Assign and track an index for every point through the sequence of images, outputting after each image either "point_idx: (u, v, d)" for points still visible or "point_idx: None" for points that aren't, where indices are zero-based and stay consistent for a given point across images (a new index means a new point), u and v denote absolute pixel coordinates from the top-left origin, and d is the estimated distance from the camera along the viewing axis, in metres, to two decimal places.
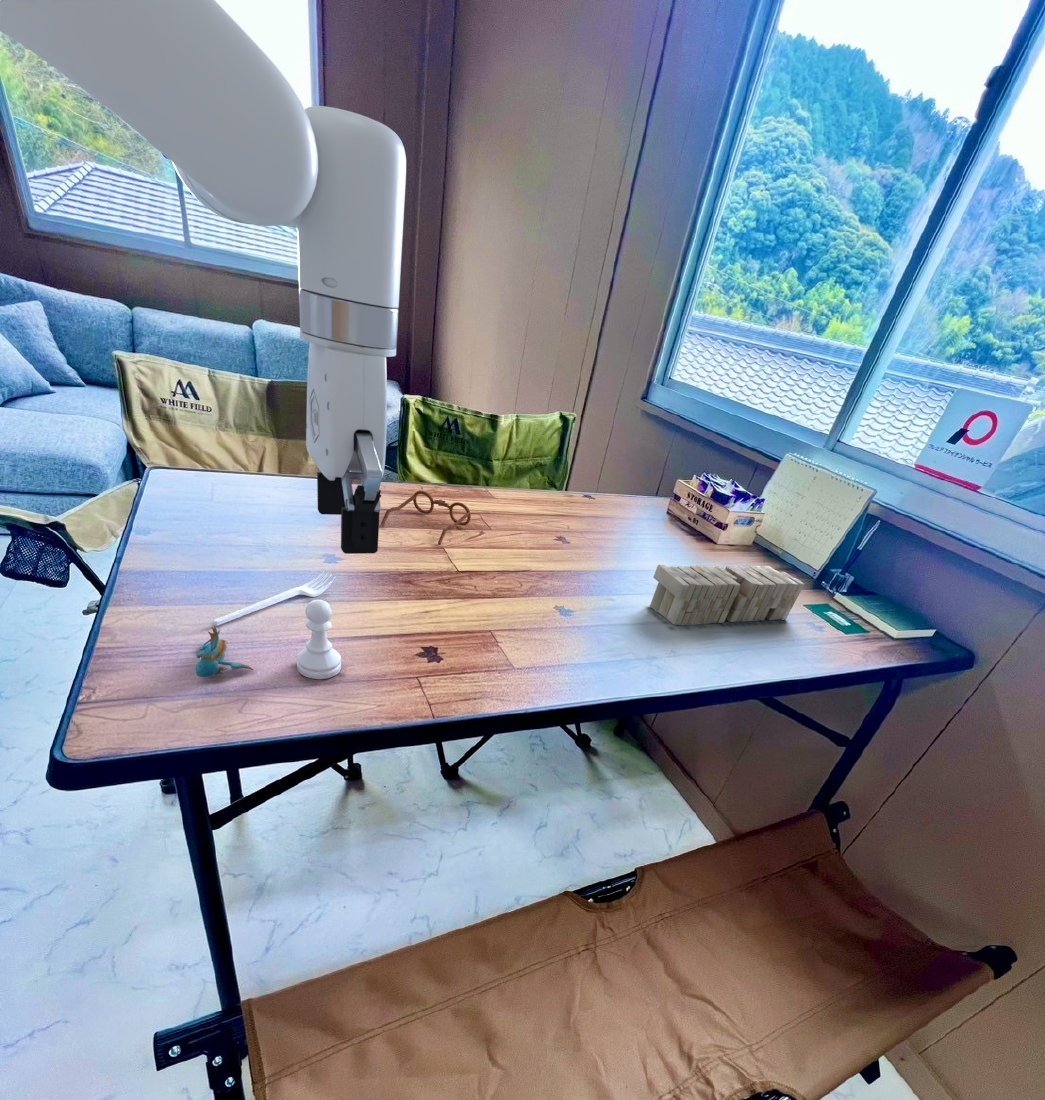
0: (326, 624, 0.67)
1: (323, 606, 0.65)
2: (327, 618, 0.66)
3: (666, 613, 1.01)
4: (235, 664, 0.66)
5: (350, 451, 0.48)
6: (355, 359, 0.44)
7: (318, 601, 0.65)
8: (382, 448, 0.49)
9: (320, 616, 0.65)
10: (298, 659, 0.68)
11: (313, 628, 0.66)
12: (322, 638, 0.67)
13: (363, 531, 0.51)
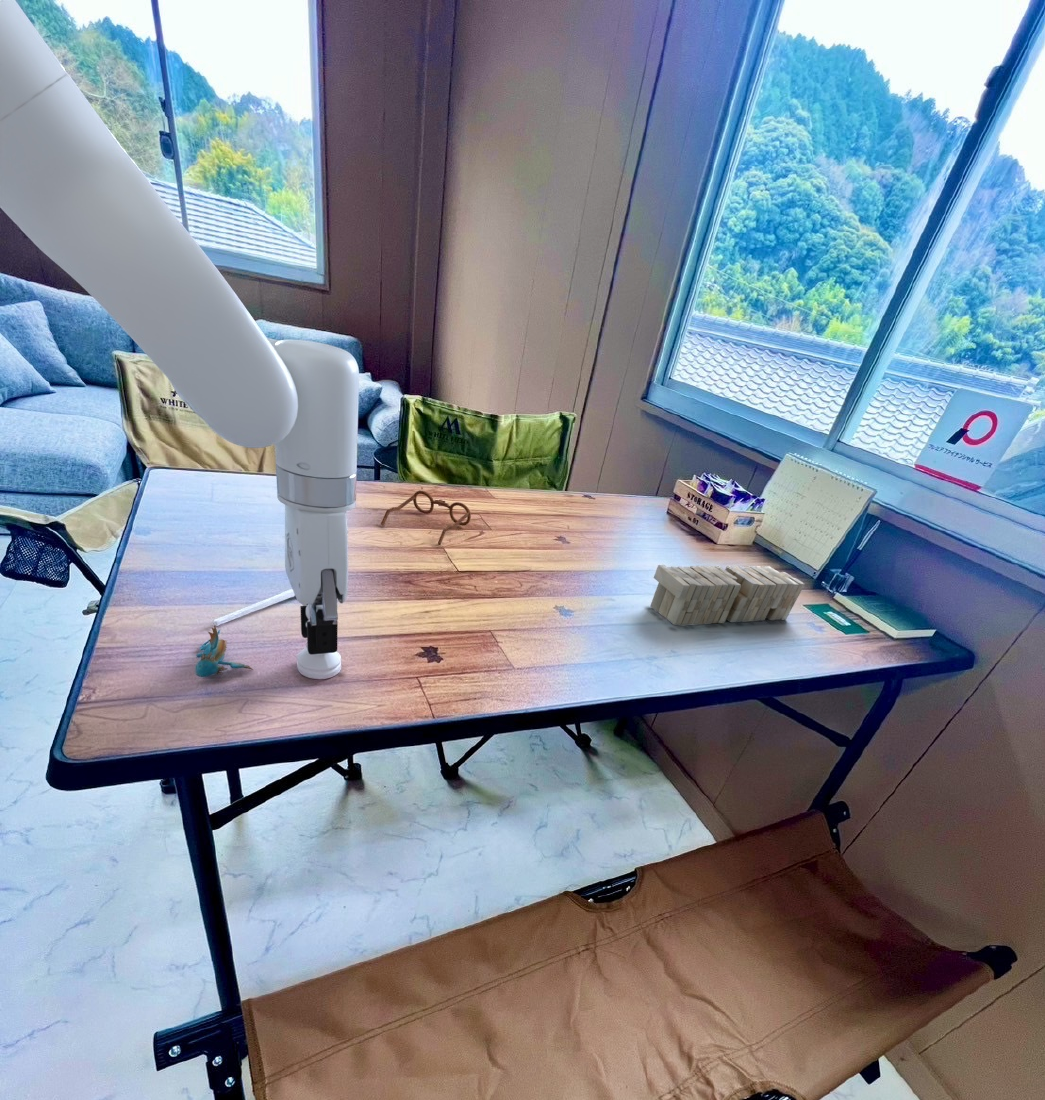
0: None
1: None
2: None
3: (666, 613, 1.01)
4: (235, 664, 0.66)
5: (318, 585, 0.59)
6: (320, 519, 0.56)
7: None
8: (345, 580, 0.60)
9: None
10: (298, 659, 0.68)
11: None
12: None
13: (324, 638, 0.65)
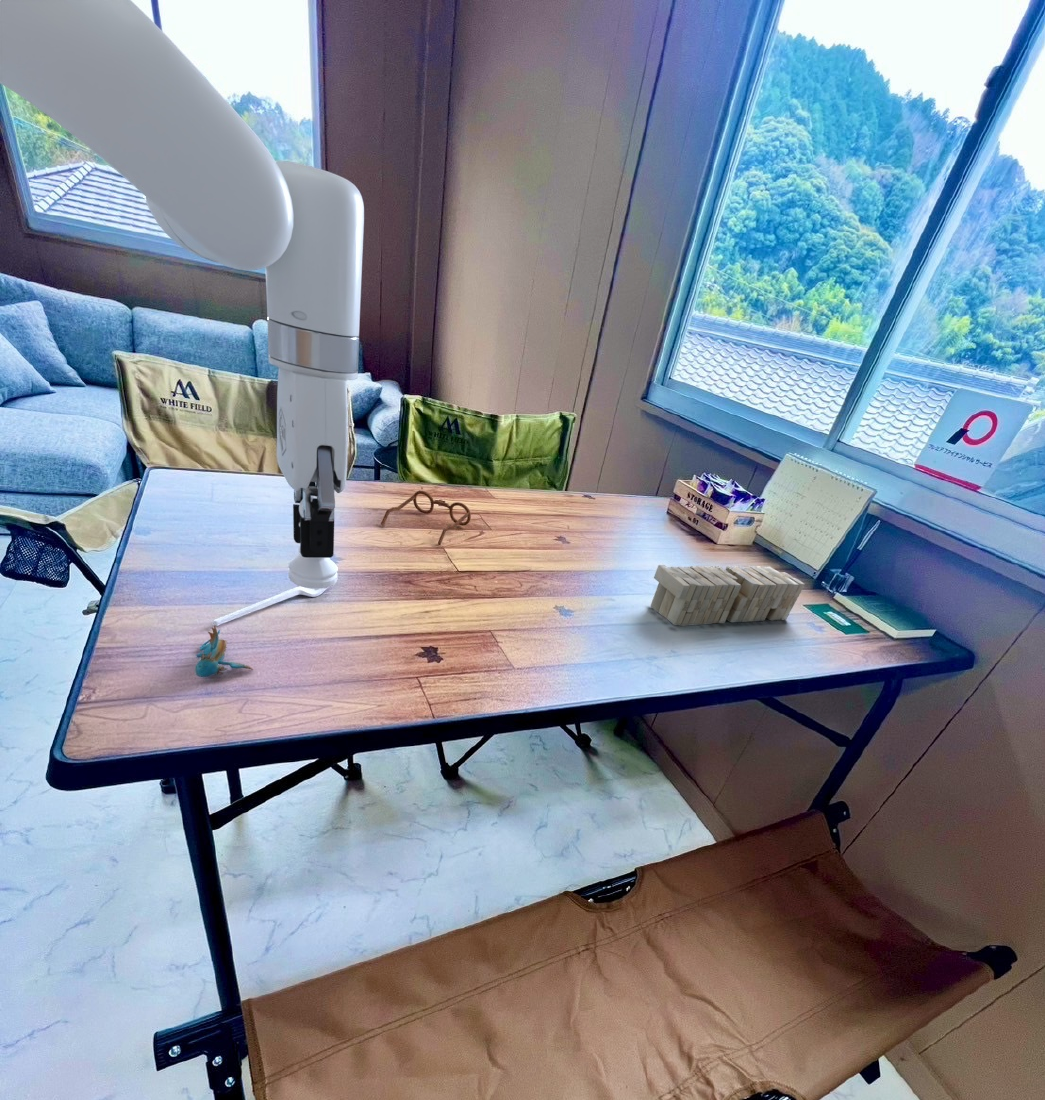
0: None
1: None
2: None
3: (666, 613, 1.01)
4: (235, 664, 0.66)
5: (314, 464, 0.52)
6: (317, 382, 0.49)
7: (313, 496, 0.59)
8: (343, 462, 0.53)
9: None
10: (290, 565, 0.61)
11: None
12: None
13: (319, 538, 0.58)
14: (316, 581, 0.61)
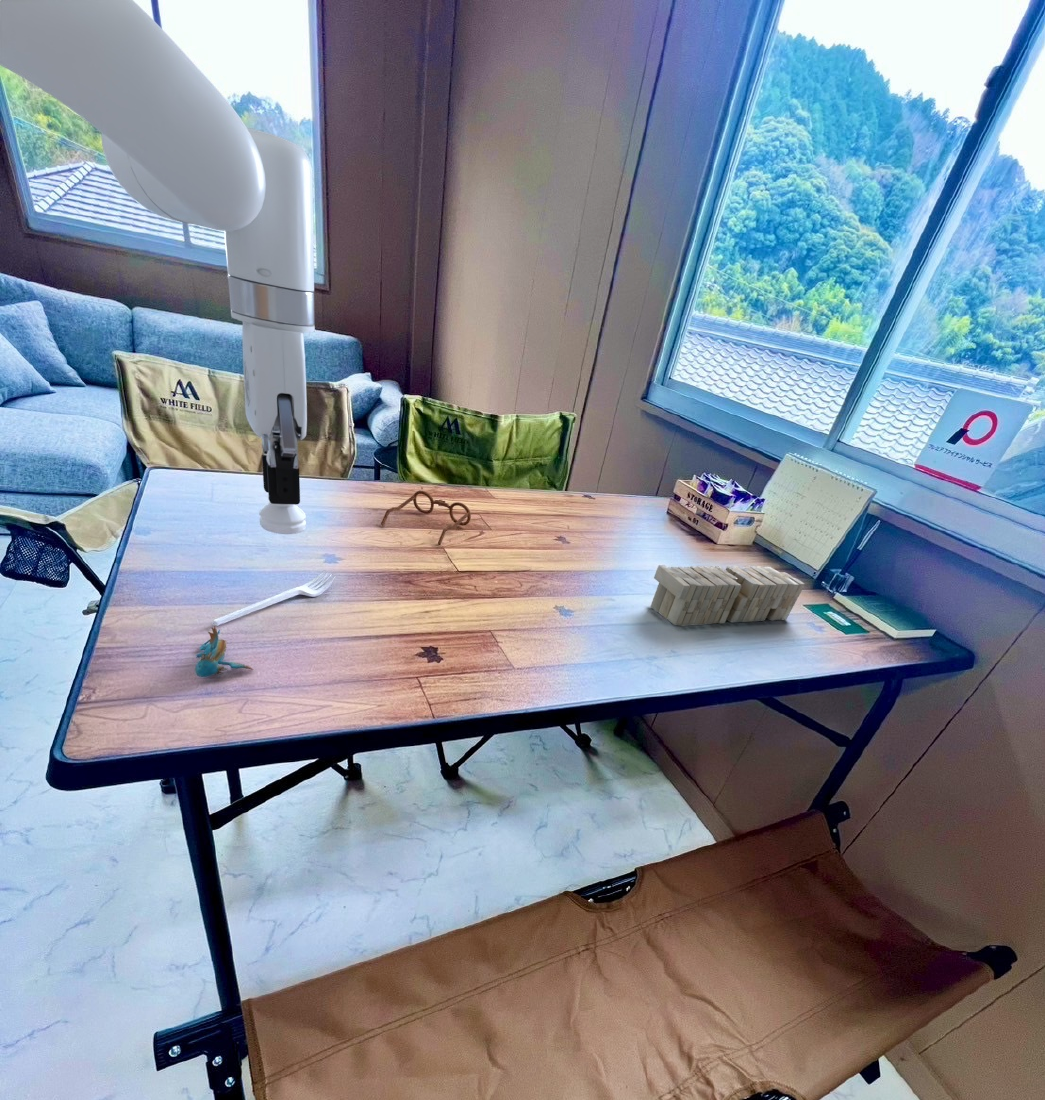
0: None
1: None
2: None
3: (667, 614, 1.00)
4: (235, 664, 0.66)
5: (275, 411, 0.57)
6: (274, 333, 0.54)
7: None
8: (303, 410, 0.58)
9: None
10: (260, 512, 0.66)
11: None
12: None
13: (285, 484, 0.63)
14: (285, 527, 0.66)
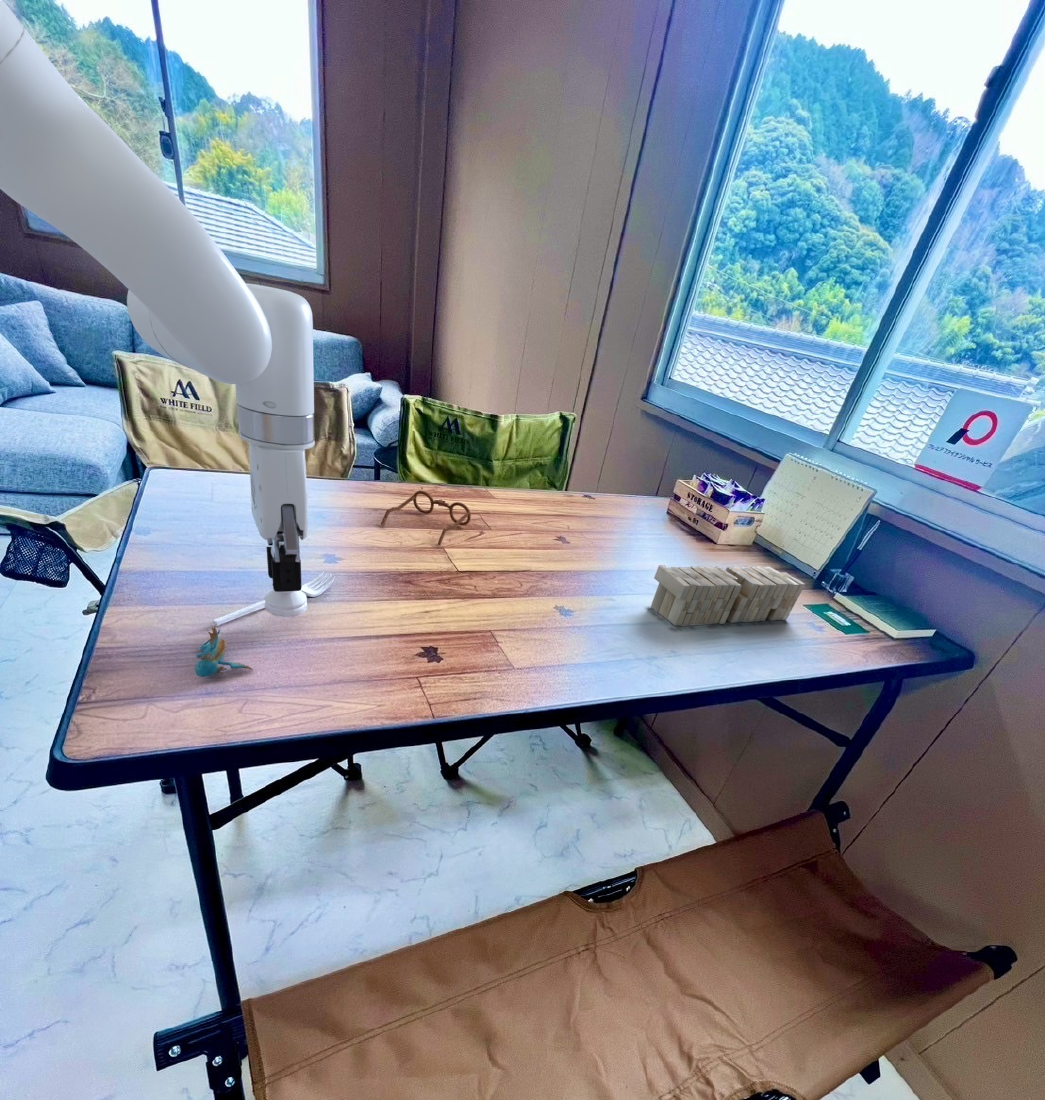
0: None
1: None
2: None
3: (667, 614, 1.00)
4: (235, 664, 0.66)
5: (279, 519, 0.63)
6: (278, 454, 0.60)
7: None
8: (304, 516, 0.64)
9: None
10: (265, 597, 0.72)
11: None
12: None
13: (288, 576, 0.70)
14: (288, 610, 0.72)
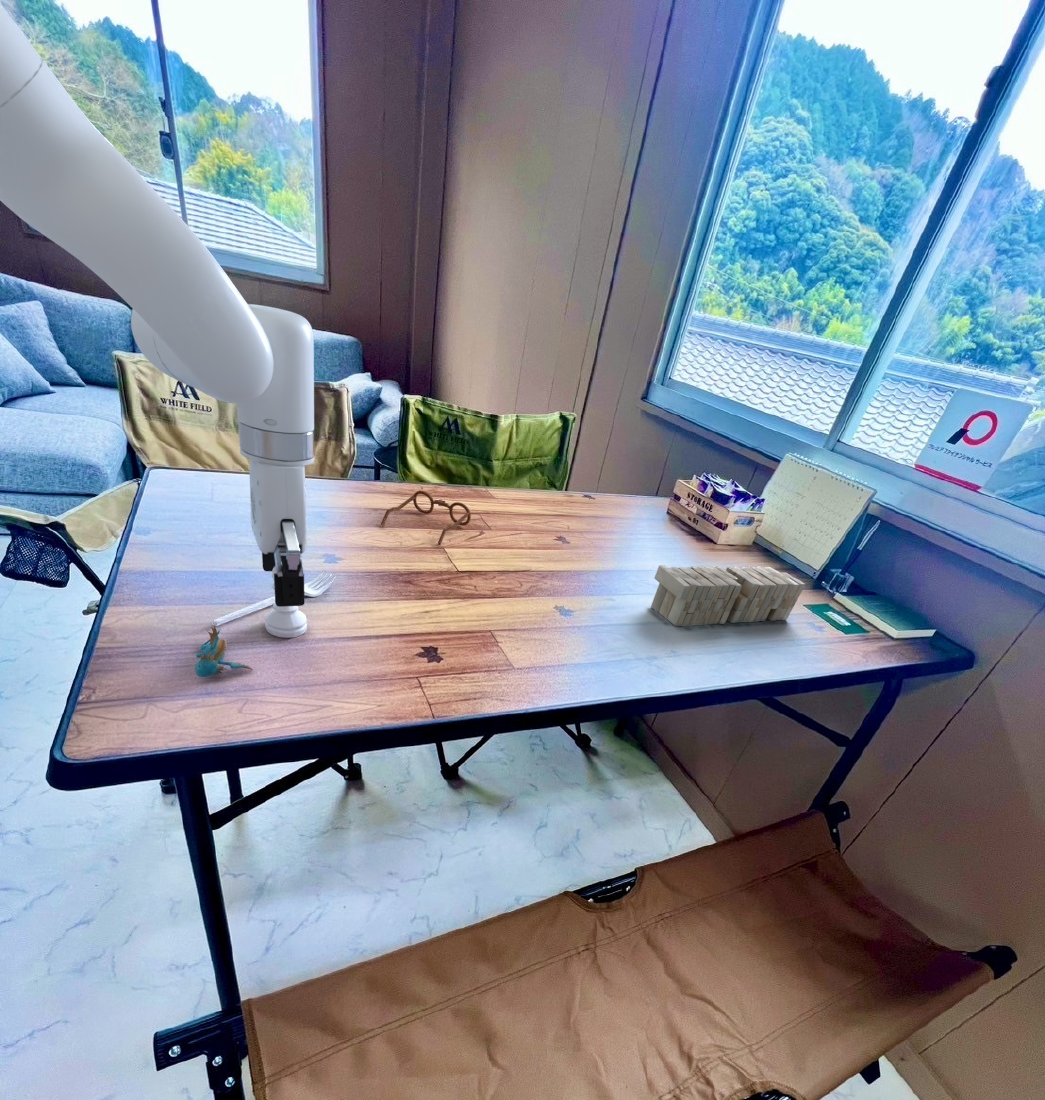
0: None
1: None
2: None
3: (667, 614, 1.00)
4: (234, 664, 0.66)
5: (278, 534, 0.64)
6: (278, 471, 0.61)
7: None
8: (303, 530, 0.65)
9: None
10: (266, 619, 0.74)
11: None
12: None
13: (291, 590, 0.67)
14: (288, 632, 0.74)
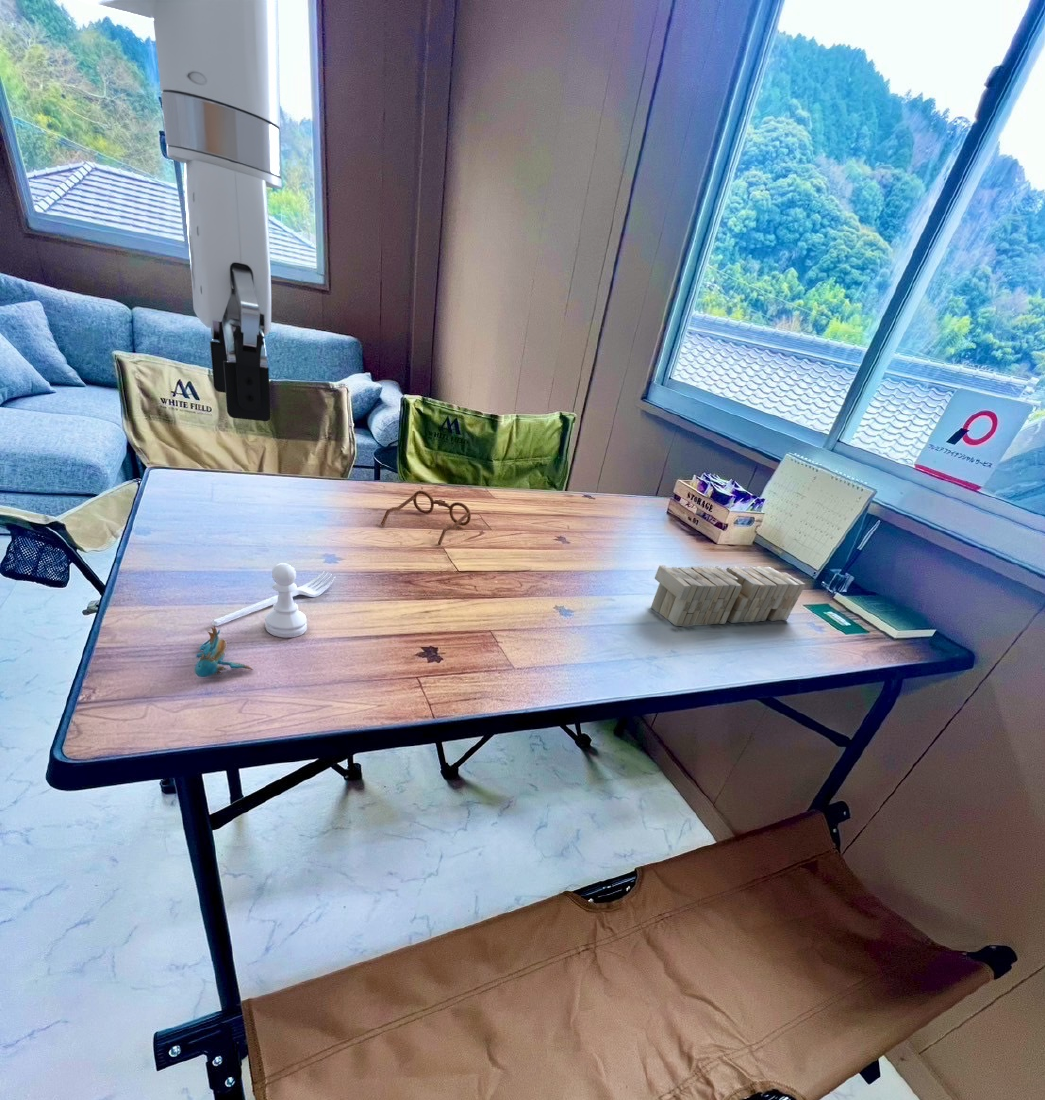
0: (291, 586, 0.72)
1: (288, 568, 0.71)
2: (292, 580, 0.72)
3: (667, 614, 1.00)
4: (234, 664, 0.66)
5: (227, 289, 0.43)
6: (224, 173, 0.40)
7: (283, 564, 0.71)
8: (266, 291, 0.44)
9: (285, 577, 0.71)
10: (266, 619, 0.74)
11: (279, 589, 0.72)
12: (288, 599, 0.73)
13: (249, 390, 0.46)
14: (288, 632, 0.74)
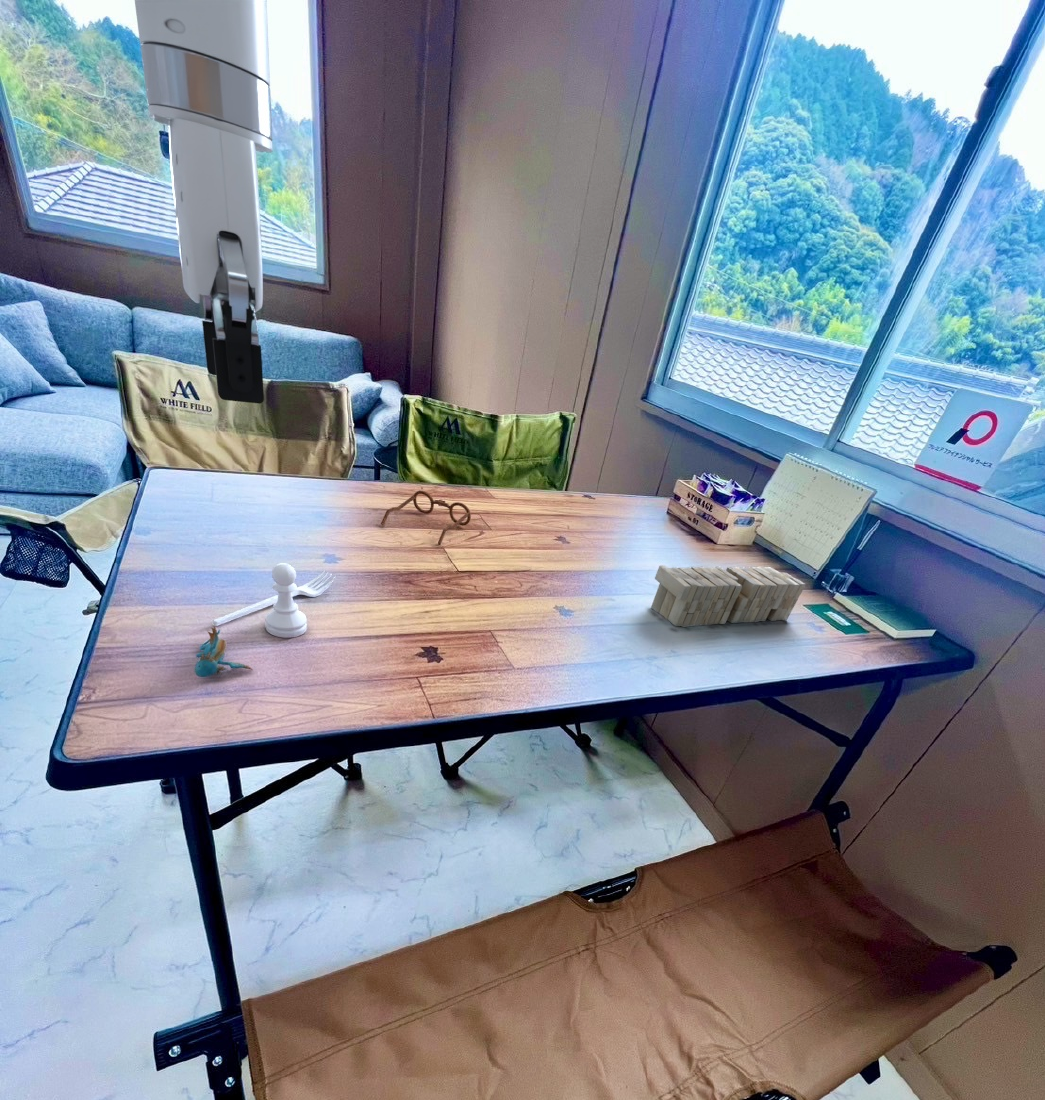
0: (291, 586, 0.72)
1: (288, 568, 0.71)
2: (292, 580, 0.72)
3: (667, 614, 1.00)
4: (234, 664, 0.66)
5: (215, 259, 0.40)
6: (209, 132, 0.37)
7: (283, 564, 0.71)
8: (256, 262, 0.41)
9: (285, 577, 0.71)
10: (266, 619, 0.74)
11: (279, 589, 0.72)
12: (288, 599, 0.73)
13: (241, 369, 0.44)
14: (288, 632, 0.74)
